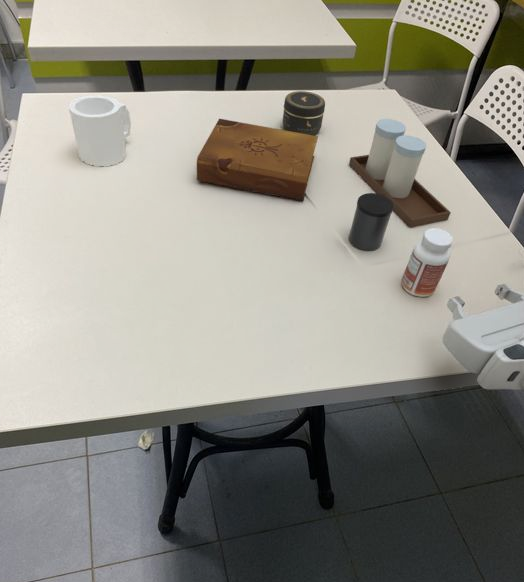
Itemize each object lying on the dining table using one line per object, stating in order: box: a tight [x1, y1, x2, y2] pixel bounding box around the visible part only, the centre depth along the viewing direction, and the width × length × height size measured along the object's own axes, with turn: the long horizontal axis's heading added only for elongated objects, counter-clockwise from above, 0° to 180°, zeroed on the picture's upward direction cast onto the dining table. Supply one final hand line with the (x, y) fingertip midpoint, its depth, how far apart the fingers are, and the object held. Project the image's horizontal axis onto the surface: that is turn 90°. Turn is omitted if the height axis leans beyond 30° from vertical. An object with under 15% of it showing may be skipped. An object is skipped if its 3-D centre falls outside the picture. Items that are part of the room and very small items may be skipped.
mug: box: [68, 94, 132, 167], centre depth 106 cm, size 14×10×11 cm
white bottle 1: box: [365, 118, 407, 180], centre depth 108 cm, size 6×6×11 cm
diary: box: [196, 118, 318, 202], centre depth 108 cm, size 23×19×6 cm
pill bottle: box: [401, 227, 454, 298], centre depth 85 cm, size 6×6×11 cm
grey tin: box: [348, 192, 394, 252], centre depth 93 cm, size 7×7×9 cm
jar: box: [282, 90, 326, 136], centre depth 121 cm, size 10×10×8 cm
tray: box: [348, 154, 452, 229], centre depth 108 cm, size 25×10×2 cm, turn 23°
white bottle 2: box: [383, 134, 427, 198], centre depth 104 cm, size 6×6×11 cm
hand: (476, 293), depth 76 cm, fingers open, 8 cm apart
